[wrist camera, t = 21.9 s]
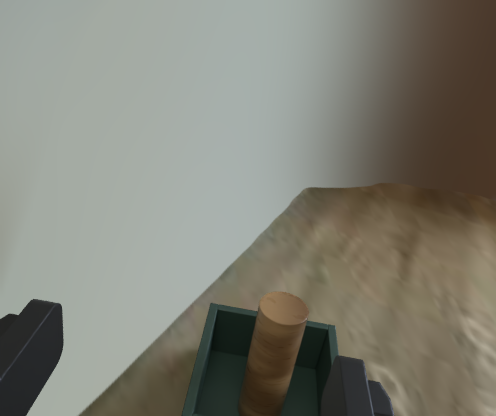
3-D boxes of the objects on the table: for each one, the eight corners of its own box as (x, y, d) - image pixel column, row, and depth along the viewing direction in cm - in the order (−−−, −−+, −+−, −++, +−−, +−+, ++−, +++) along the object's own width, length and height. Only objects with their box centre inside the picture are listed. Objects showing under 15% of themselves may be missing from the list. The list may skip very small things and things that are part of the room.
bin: (173, 473, 36) (180, 420, 33) (203, 349, 48) (210, 302, 45) (330, 502, 36) (350, 452, 33) (321, 370, 48) (335, 325, 45)
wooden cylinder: (235, 424, 40) (257, 319, 34) (240, 387, 43) (261, 287, 38) (280, 432, 40) (309, 329, 34) (281, 395, 43) (308, 296, 38)
